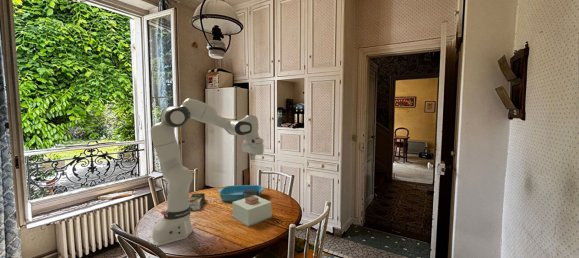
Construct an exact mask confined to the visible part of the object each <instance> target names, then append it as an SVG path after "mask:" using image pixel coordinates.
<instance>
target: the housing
mask: <svg viewBox="0 0 579 258" xmlns="http://www.w3.org/2000/svg"><path fill="white" fill-rule="evenodd" d="M254 196H255V197H257V198H259V199H258V203H255V204H252V205H249V204H247V203H245V198H244V199H241V200H238V201H231V203H232V215H231V218H233V219H235V220H236V221H237V222H239V223H241V224H243V225H244V226H246V227H251V226H253V225H256V224H259V223H261V222H263V221H266V220H269V219H271V218H273V215H272V213H273V210H272V201H270V200H268V199H266V198H263V197H261V196H260V197H258V196H256V195H254Z"/></svg>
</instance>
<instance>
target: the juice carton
mask: <svg viewBox="0 0 579 258" xmlns="http://www.w3.org/2000/svg"><path fill="white" fill-rule="evenodd" d="M205 197H206V195H205V193H203V192H202V193H192V195H191V196H190V197H189V206H190V211H199V209H200V210H201V208H202V207H203V205H204V202H205V200H206V199H205Z"/></svg>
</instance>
